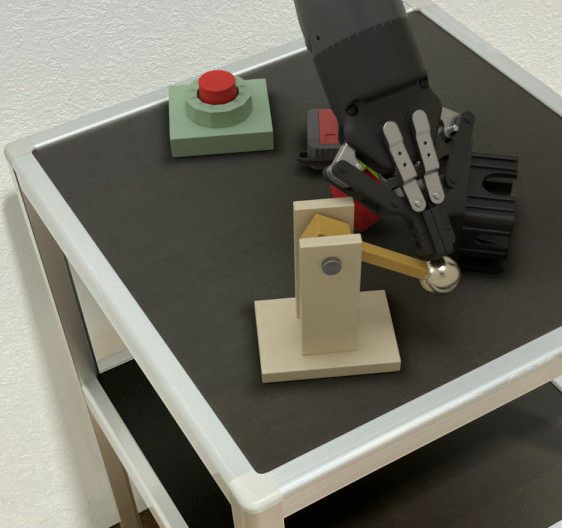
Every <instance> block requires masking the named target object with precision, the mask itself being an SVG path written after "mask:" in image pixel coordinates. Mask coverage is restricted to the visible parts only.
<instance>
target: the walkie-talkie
mask: <svg viewBox="0 0 562 528" xmlns="http://www.w3.org/2000/svg"><path fill="white" fill-rule="evenodd" d="M306 113H307V114H306V135H307V136H306V138H307V139H306V140H307V149H303V150H299V151H298V152H296V155H295V161H296V163H297V164H298V165H301V166H308V167H310V168H311V169H313V170H315V171H320V170H322V171H323V170H324V168H326V167H327V166H330V165H331V164H332V163H333V161H334V159H335V157H336V155H337V153H338V151H339V149H340V147H341V145H340V144H339V141H338V121H337V119H336V117H335V115H334V114H333V112H332V110H331V108H312V109H310V110H309V109H308V110H307V111H306ZM418 163H419V162H418Z"/></svg>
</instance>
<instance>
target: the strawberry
mask: <svg viewBox="0 0 562 528" xmlns="http://www.w3.org/2000/svg"><path fill="white" fill-rule="evenodd" d="M357 160H358V159H357ZM358 161H359V160H358ZM359 162H360V163H361V165H362V172H363V173H365V174H366V175H368V176H369V177H371V178H372V179H374V180H375V181H377V182H378V183H380V184H381V182H380V180H379V178H378V175H377V173H376V172H374V171H373V170H371V169H370V168H369V167H367V166H366V165H365V164H363V163H362V162H361V161H359ZM395 172H396V171H395ZM381 185H382V184H381ZM329 188H330V192H331V193H330V194H331V197H332V198H343V197H349V196H348V195H346V194H345V193H343V192H342V191H340V190H339V189H337V188H336V187H334V186H333V185H331V184H330V187H329ZM353 201H354V227H353V230H355V231H357V232H359V233H361V232H365V231H367V230H368V229H369V228H370V227H372V226H373V225H374V224H376V223H377V222H378V221H379V220H380V219H381V218H382V217H383V216H378V215H376V214H375V213H373V212H372V211H370V210H369V209H367V208H366V207H364V206H363V205H361V204H360V203H358V202H357V201H355V200H354V199H353Z"/></svg>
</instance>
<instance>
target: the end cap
mask: <svg viewBox="0 0 562 528" xmlns="http://www.w3.org/2000/svg"><path fill="white" fill-rule="evenodd" d="M473 145H474V139H471V140H470V145H469V149H468V153H467V157H466V161H465V166H464V170H463V174H462V178H461V182H460V185H459V186H458V187H456V188H453V189H452V190H451V191H450V192H449V193H448V194H447V195H446V196H445V198H444V207H445V210H446V212H447V215H448V218H449V221H450V224H451V226H452V229H453V231H454V234H455V243H454V244H452V245H453V248H454V251H453V253H450V254H448V255H446V256H448V257H450V258H452V259H453V260H455V262H456V263H457V264H458V266H459V268H460V271H461V270H462V271H470V272H478V273H479V272H480V273H489V274H501V273H503V272H504V269H505V264H506V263H505V262H507V260H508V259H507V258H508V253H509V249H510V245H508V238H512V234H513V230H514V226H515V217H516V204H517V196H512V195H511V194H512V189H513V187H514V186H513V185H514V180H517V179H518V171H519V155H517V154H516V155H515V154H505V153H494V152H485V151H484V152H483V151H474V150H473Z"/></svg>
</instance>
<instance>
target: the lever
mask: <svg viewBox="0 0 562 528" xmlns="http://www.w3.org/2000/svg"><path fill="white" fill-rule="evenodd" d="M348 234H351V231H350V226H349V224H347V223H344V222H341V221H338V220H335V219H332V218H329V217H326V216H323V215H320V214H315V216H314V217H313V219H312V220H311V222H310V223H309V225H308V226H307V228H306V230H305V231H304V233H303V234H302V236H301V238H312V237H324V236H336V235H348ZM361 262H364V263H367V264H370V265H372V266H373V265H374V266H377V267H380V268H383V269H387V270H390V271H393V272H396V273H400V274H401V275H402V274H403V275H406V276H409V277H412V278H414V279H415V278H416V279H418V280H419V281H418V282H419V283H420V286H421V287H422V289H423V291H425V292H426V293H427V294H428V295H431V296H433V297H445V296H448V295H450V294H452V293H453V292H454V291H455V290H456V289H457V288H458V287H459V285H460V282H461V279H462V273H461V269H460V268H459V266H458V264H457V263H456V262H455V260H453V259H452V258H450V257H448V256H444V257H442V258H439V259H437V260H433V261H427V260H422V259H419V258H416V257H413V256H410V255H406V254H403V253H400V252H397V251H394V250H390V249H387V248H384V247H381V246H378V245H375V244H372V243H369V242H367V241H363V240H362V259H361Z"/></svg>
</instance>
